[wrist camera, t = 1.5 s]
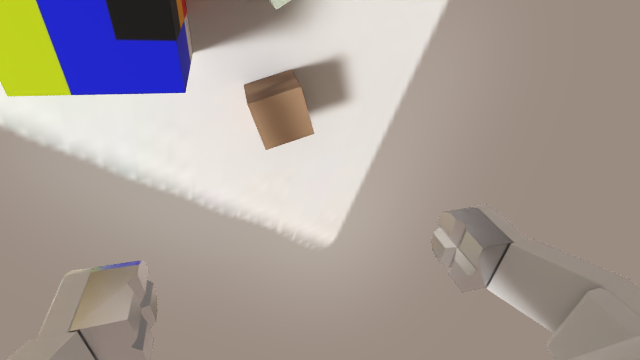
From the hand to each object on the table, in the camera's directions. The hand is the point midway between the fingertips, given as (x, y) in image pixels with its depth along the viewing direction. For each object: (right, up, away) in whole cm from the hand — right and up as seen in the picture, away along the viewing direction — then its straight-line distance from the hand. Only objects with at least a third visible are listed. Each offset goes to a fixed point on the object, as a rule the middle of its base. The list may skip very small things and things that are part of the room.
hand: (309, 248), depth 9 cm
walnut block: (-4, +10, +25) cm, 28 cm away
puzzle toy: (-16, +17, +17) cm, 29 cm away
